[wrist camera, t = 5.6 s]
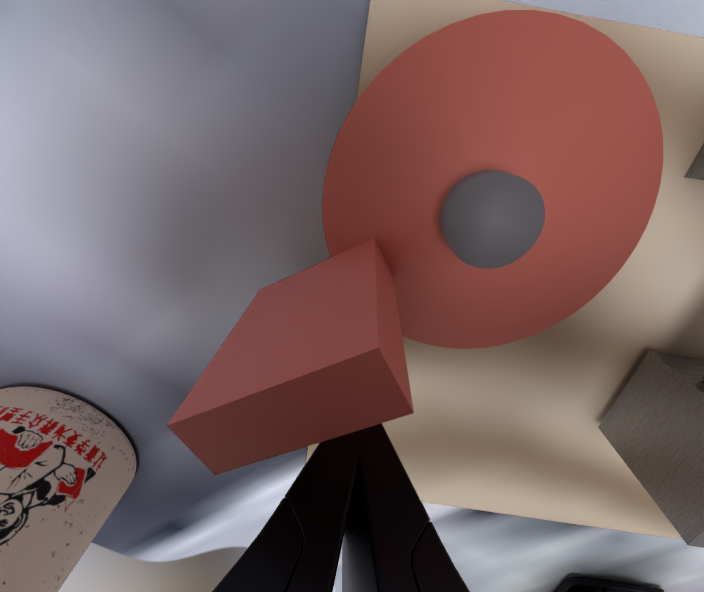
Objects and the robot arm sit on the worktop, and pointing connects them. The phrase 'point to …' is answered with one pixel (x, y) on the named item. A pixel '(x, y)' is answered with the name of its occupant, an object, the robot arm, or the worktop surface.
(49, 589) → the teacup with lid
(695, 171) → the eye post
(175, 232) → the worktop surface
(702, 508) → the grey rod with block
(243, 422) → the handwheel
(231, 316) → the worktop surface
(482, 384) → the base board
